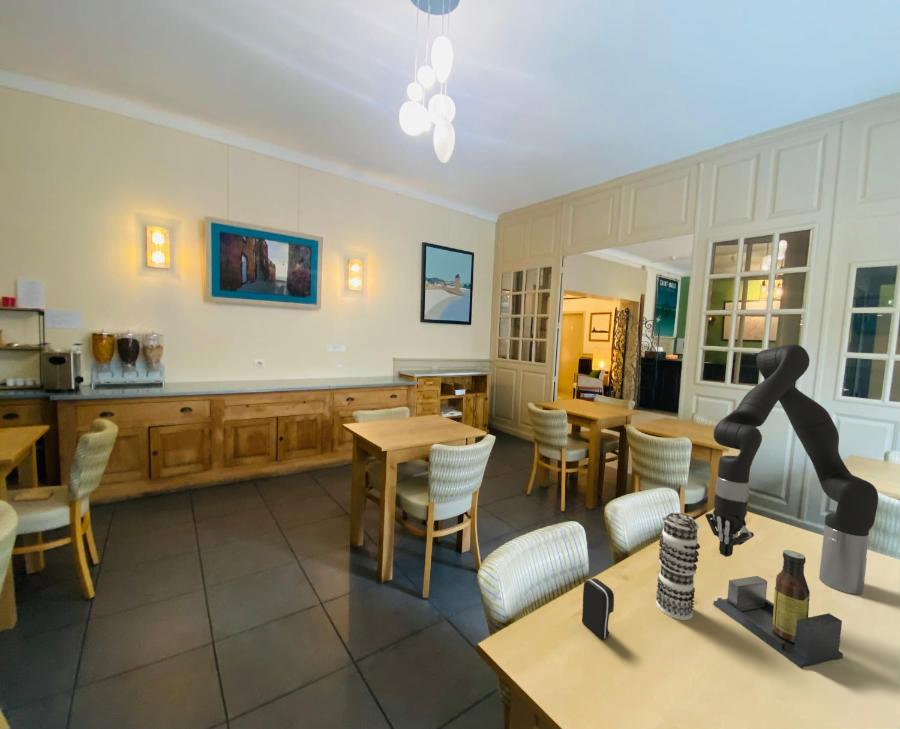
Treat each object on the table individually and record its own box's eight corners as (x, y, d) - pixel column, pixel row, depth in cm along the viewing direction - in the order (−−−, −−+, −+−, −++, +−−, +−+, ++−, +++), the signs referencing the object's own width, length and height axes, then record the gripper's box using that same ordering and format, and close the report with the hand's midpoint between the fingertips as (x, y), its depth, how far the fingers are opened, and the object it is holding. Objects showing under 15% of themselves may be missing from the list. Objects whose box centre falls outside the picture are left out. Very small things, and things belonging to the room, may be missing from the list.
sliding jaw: (755, 600, 106) (757, 575, 106) (765, 606, 104) (767, 581, 103) (726, 605, 103) (729, 580, 103) (736, 612, 101) (738, 586, 101)
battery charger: (614, 636, 93) (617, 590, 92) (602, 641, 91) (605, 594, 90) (591, 617, 99) (594, 573, 98) (580, 621, 97) (583, 577, 96)
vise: (750, 598, 109) (752, 566, 108) (842, 657, 89) (846, 619, 88) (713, 604, 106) (716, 572, 105) (800, 668, 85) (804, 628, 85)
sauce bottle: (813, 647, 90) (821, 564, 89) (781, 642, 91) (789, 560, 90) (794, 627, 97) (801, 549, 95) (765, 623, 98) (772, 545, 97)
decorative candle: (691, 603, 106) (699, 513, 104) (697, 625, 97) (705, 528, 96) (653, 593, 109) (660, 506, 108) (655, 613, 101) (662, 519, 100)
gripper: (699, 486, 114) (694, 544, 115) (744, 505, 101) (737, 570, 102) (720, 485, 116) (714, 541, 117) (766, 503, 103) (759, 567, 104)
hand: (725, 555), depth 109 cm, fingers closed
